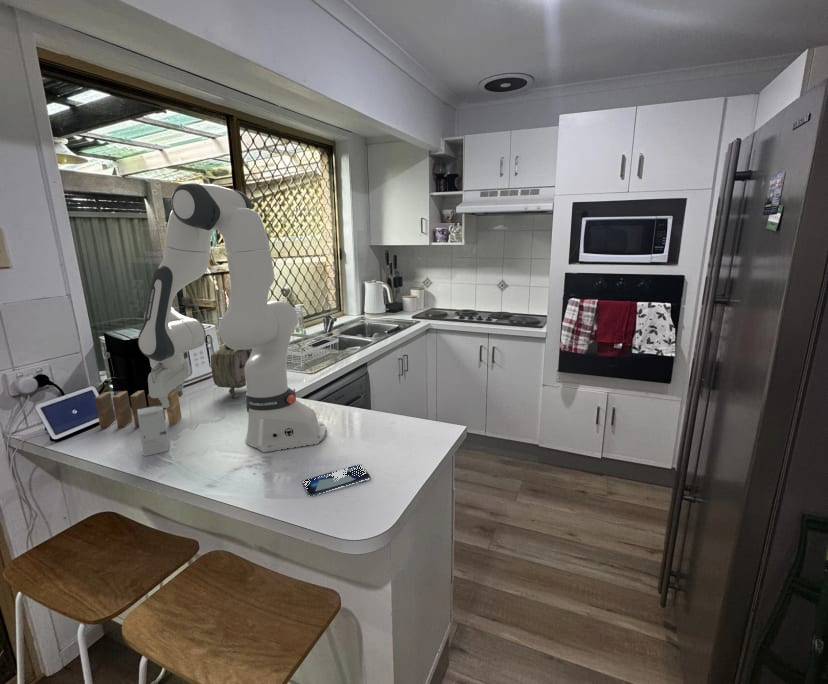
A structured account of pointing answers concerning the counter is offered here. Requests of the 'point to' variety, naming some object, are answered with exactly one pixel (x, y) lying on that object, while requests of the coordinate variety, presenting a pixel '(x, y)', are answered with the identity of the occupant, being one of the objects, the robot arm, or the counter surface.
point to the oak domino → (173, 407)
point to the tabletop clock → (229, 368)
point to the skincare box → (152, 430)
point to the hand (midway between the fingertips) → (173, 401)
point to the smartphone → (328, 483)
